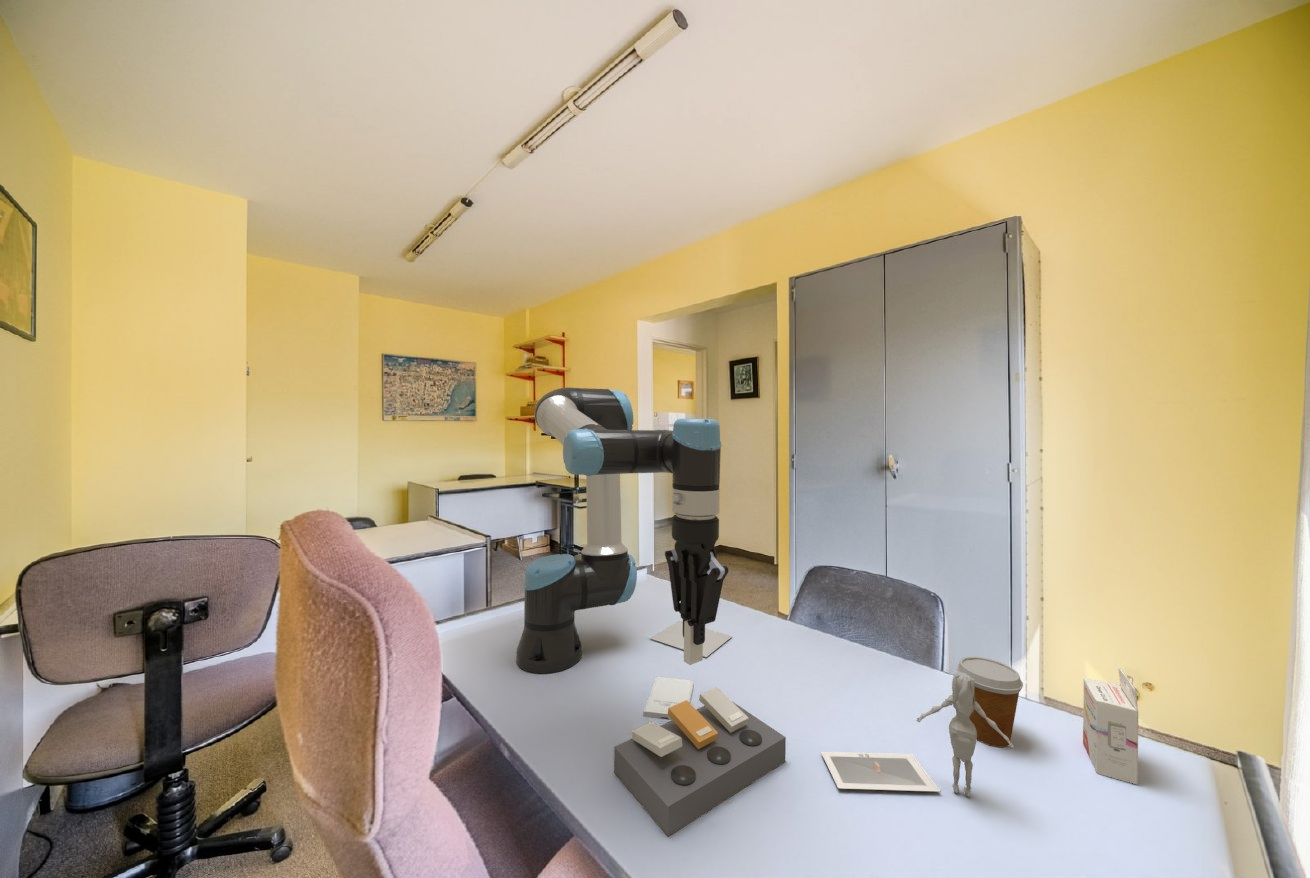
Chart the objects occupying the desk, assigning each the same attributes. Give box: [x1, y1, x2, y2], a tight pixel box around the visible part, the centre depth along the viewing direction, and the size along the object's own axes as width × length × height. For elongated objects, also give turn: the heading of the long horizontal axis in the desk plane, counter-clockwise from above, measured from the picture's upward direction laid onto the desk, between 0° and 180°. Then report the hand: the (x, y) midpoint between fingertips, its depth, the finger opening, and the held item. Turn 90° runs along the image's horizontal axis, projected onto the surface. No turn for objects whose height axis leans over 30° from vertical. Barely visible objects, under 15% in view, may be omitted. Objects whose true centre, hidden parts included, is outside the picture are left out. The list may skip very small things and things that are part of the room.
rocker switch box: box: [613, 701, 787, 837], centre depth 73 cm, size 14×24×4 cm, turn 126°
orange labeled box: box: [668, 700, 718, 749], centre depth 74 cm, size 8×4×1 cm, turn 35°
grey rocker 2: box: [698, 686, 749, 733], centre depth 78 cm, size 8×4×1 cm, turn 35°
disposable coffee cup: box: [956, 656, 1024, 748], centre depth 81 cm, size 10×10×12 cm
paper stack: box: [649, 620, 733, 658], centre depth 120 cm, size 23×25×1 cm
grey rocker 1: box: [631, 721, 682, 757], centre depth 71 cm, size 8×4×1 cm, turn 36°
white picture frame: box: [820, 751, 941, 793], centre depth 71 cm, size 8×15×2 cm, turn 88°
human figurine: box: [915, 671, 1015, 798], centre depth 67 cm, size 12×4×18 cm, turn 61°
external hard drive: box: [642, 676, 695, 721], centre depth 91 cm, size 2×8×12 cm
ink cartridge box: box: [1082, 667, 1139, 786], centre depth 74 cm, size 9×5×15 cm, turn 148°
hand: (693, 660), depth 73 cm, fingers closed
